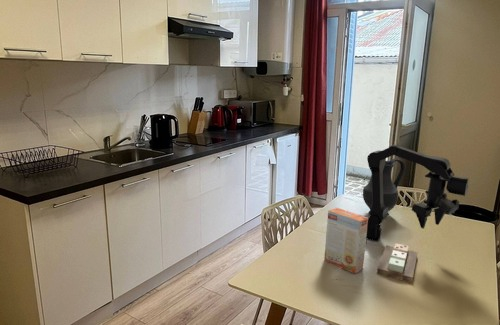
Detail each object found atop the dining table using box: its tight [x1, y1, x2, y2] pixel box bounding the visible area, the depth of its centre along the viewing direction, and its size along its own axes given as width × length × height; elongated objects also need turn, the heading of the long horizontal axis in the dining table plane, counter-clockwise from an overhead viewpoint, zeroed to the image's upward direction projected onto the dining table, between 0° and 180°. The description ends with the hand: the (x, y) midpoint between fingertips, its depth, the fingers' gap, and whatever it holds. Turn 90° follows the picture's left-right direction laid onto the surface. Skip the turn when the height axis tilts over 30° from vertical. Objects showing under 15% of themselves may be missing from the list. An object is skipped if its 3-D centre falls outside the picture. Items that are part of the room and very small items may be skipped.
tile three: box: [393, 242, 409, 257], centre depth 146 cm, size 5×5×3 cm
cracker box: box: [323, 207, 369, 274], centre depth 137 cm, size 14×6×21 cm, turn 42°
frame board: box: [376, 245, 418, 283], centre depth 140 cm, size 12×22×2 cm, turn 152°
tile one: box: [388, 258, 406, 273], centre depth 134 cm, size 5×5×3 cm
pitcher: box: [362, 157, 405, 215], centre depth 189 cm, size 17×21×30 cm
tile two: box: [391, 250, 408, 265], centre depth 140 cm, size 5×5×3 cm
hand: (429, 226), depth 147 cm, fingers open, 9 cm apart
